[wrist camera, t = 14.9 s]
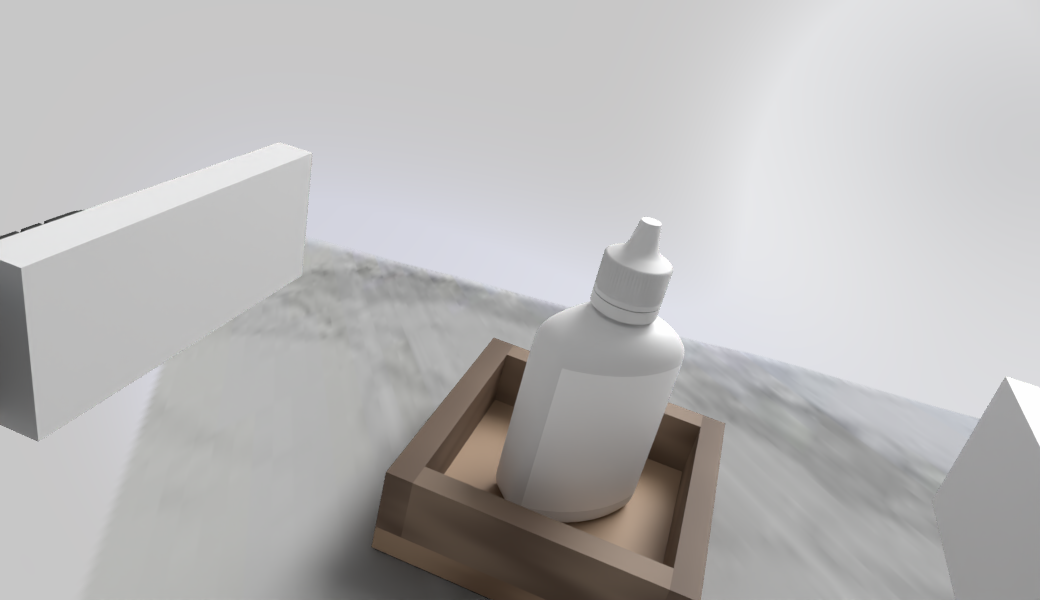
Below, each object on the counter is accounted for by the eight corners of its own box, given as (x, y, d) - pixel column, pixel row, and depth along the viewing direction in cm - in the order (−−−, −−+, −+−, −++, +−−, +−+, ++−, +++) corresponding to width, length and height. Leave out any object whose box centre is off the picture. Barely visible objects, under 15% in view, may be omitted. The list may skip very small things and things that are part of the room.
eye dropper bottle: (630, 550, 29) (742, 268, 24) (486, 512, 29) (565, 222, 24) (629, 477, 33) (725, 220, 28) (502, 444, 33) (573, 181, 28)
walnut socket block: (698, 484, 36) (725, 423, 34) (665, 675, 26) (700, 602, 24) (478, 399, 38) (493, 337, 36) (371, 547, 28) (386, 471, 26)
